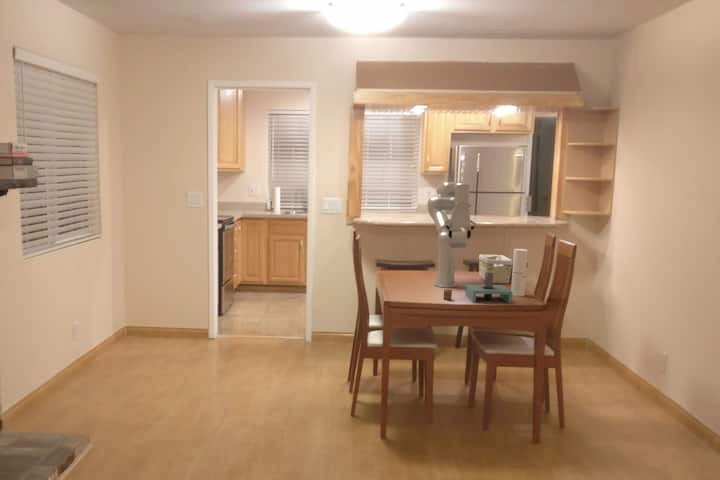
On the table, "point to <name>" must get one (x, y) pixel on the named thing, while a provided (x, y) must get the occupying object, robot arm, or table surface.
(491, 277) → the long pin
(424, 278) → the table surface
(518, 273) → the cylindrical container
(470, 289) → the bridge
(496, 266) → the storage basket
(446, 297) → the short pin
